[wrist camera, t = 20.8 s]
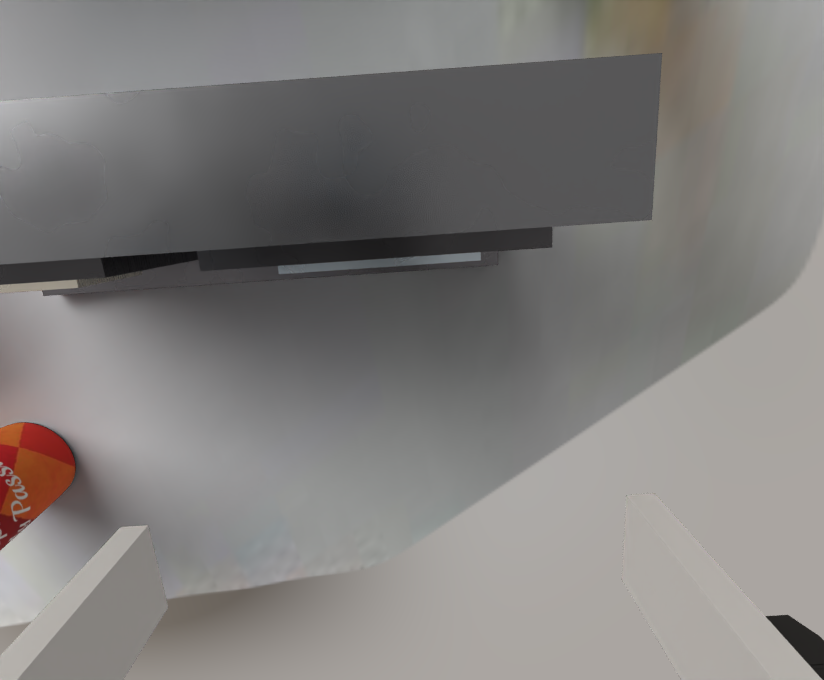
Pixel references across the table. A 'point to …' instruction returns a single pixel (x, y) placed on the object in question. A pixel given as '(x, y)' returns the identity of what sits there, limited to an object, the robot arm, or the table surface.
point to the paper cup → (30, 475)
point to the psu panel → (320, 174)
